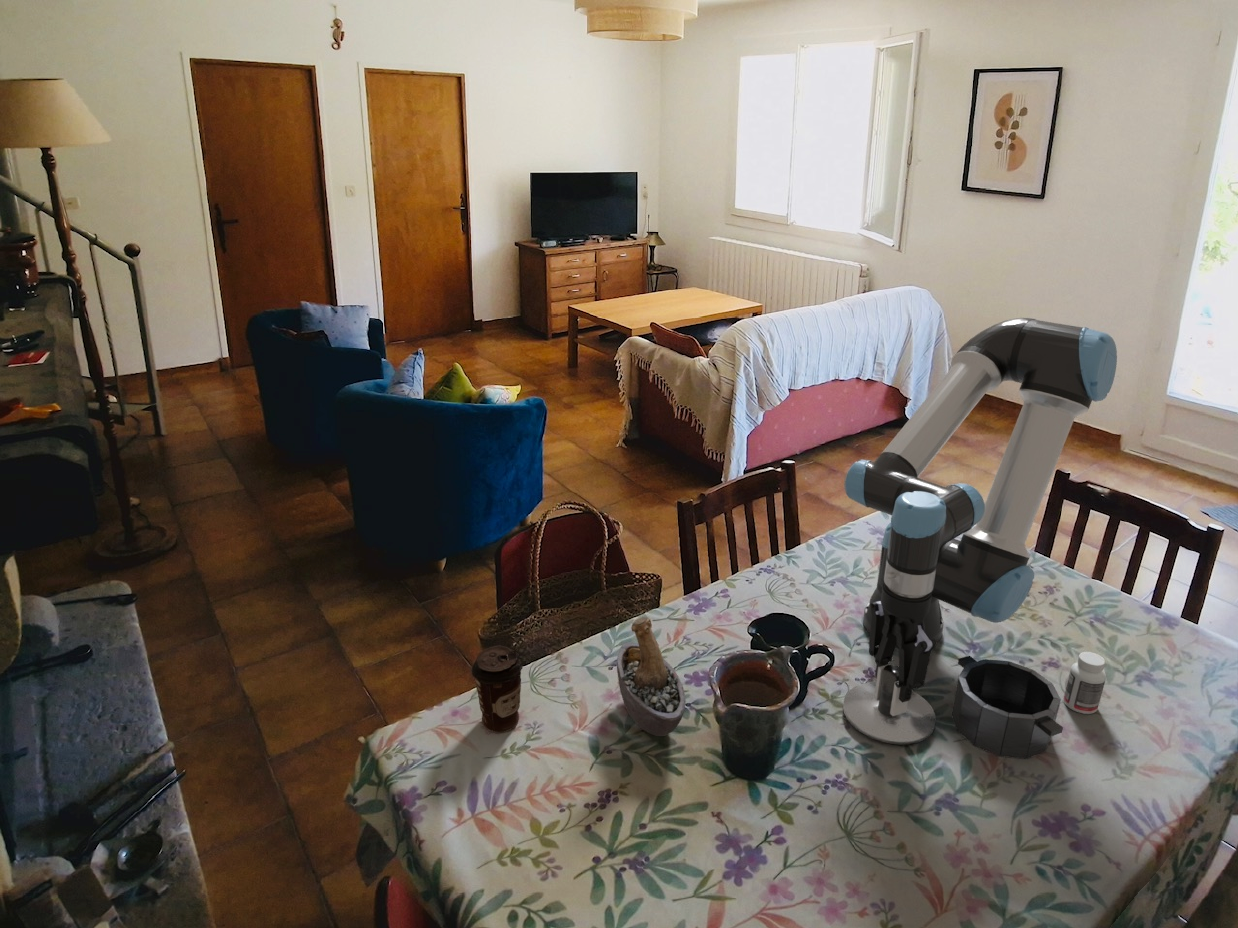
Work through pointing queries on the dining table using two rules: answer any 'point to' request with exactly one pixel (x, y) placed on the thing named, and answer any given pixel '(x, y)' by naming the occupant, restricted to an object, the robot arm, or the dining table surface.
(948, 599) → the robot arm
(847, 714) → the lid
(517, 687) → the dark brown can
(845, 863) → the dining table surface
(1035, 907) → the dining table surface
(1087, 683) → the pill bottle
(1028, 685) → the pot
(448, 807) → the dining table surface
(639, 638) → the planter
